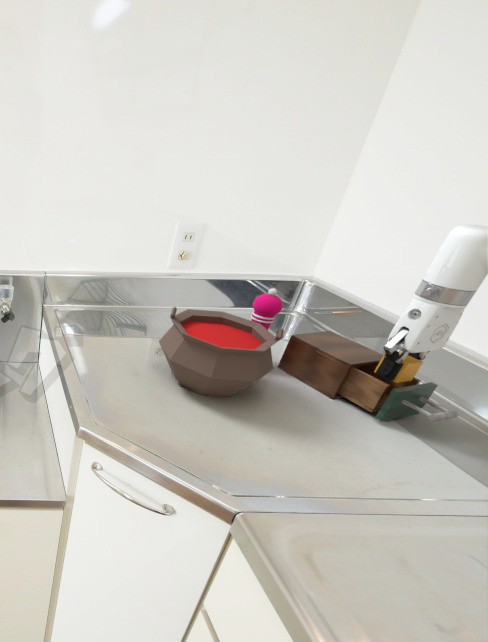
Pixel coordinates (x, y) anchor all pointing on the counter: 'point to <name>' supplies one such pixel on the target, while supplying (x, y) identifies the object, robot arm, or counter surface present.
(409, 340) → the robot arm
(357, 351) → the cabinet
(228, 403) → the counter surface
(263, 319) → the pepper mill
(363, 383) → the drawer
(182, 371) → the brown cooking pot
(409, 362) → the block
